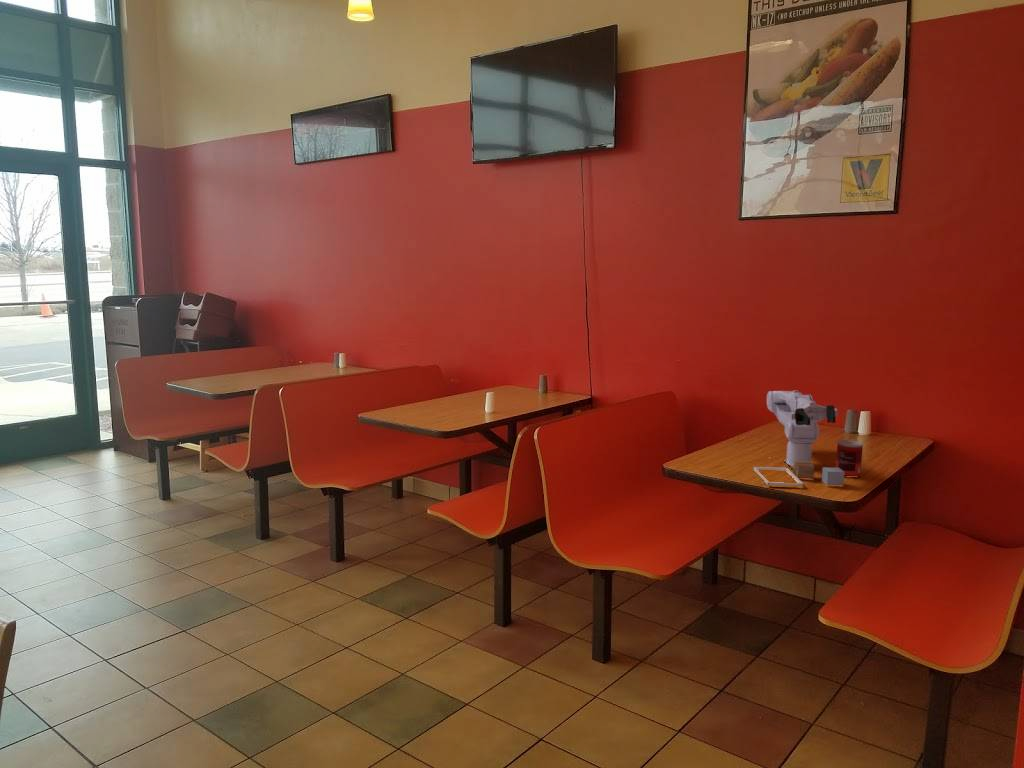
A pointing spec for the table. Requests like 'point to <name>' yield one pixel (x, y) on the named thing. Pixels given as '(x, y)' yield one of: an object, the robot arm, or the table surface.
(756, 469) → the white flat frame
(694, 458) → the table surface
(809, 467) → the translucent beige cube
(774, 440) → the table surface
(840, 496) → the table surface
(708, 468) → the table surface
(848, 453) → the canned food
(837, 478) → the slate-blue block
